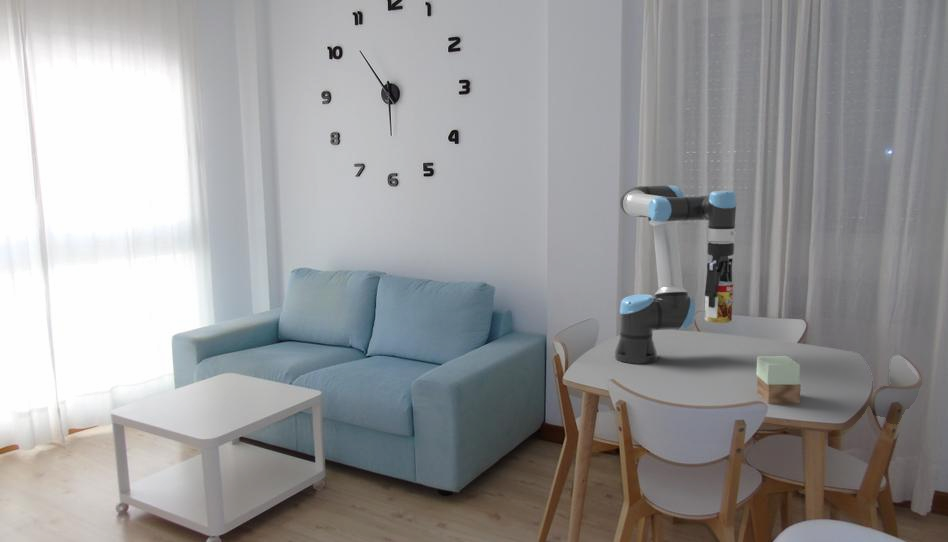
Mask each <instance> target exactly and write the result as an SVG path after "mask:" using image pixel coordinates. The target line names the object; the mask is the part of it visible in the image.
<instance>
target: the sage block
mask: <svg viewBox="0 0 948 542" xmlns="http://www.w3.org/2000/svg"><path fill="white" fill-rule="evenodd" d="M800 372H801V364H800V363H798V362H797V361H796V360H794V359H792V358H791V357H789V356H788V355H773V356H772V355H760V356H759V355H757V357H756V372H755V373H756V376H757V378H758V377H759V378H760V379H762V380H763V381H764V382H765V383H766V384H767V385H799V384H800Z"/></svg>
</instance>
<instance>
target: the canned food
mask: <svg viewBox="0 0 948 542" xmlns="http://www.w3.org/2000/svg"><path fill="white" fill-rule="evenodd" d="M733 294H734V283H733V281H732V282H730V281H728V282H725V281H720V282H719V285H718V291H717V296H716V297H718V310H717V318H711V317H708V296H705V295H704V296H705V301H704V302H705V303H704V321H706V322H708V323H712V324H729V323H731V322H732V315H733V297H734V295H733Z"/></svg>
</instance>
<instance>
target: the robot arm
mask: <svg viewBox="0 0 948 542" xmlns="http://www.w3.org/2000/svg"><path fill="white" fill-rule="evenodd" d="M736 194H737V193H736V192H734V191H732V190H714V191H711V192H710V193H709V195H698V196H685V195H684V192H683V191H682V189H681V188H680V187H679V186H676V185H667V184H665V185H649V186H648V185H647V186H643V185H642V186H635V187H631V188H629V189H628V190H626V191H625V192H624V193H622V195H621V197H620V199H619V205H620V209H621V211H622V212H623V213H624V214H626V215H628V216H630V217H635V218H647V220H648V224H649V225H651V226H652V228H653V238H654V250H655V261H656V264H655V265H656V273H657V274H656V275H657V286H658V289H657V291H656V292H655V293H654V297H653V295H651V294H645V293H644V294H642V293H641V294H640V293H639V294H633V295H627V296H626V297H623V298H622V299H621V301H620V306H619V307H620V308H619V313H620V314H619V318H620V319H619V320H620V321H619V339H618V342H617V344H616V348H615V351H614V358H615V359H616V360H617V359H618V360H617V361H619V360H620V361H619V362H622V361H623V362H622V363H626V362H627V363H626V364H636V365H637V364H639V365H640V364H641V365H642V364H643V365H644V364H650V363H654V362H656V361H657V359H658V353H657V349H656V346H655V342H654V339H653V332H654V331H665V330H666V331H667V330H681V329H688V328H690V327H691V326H692V324H693V322H694V320H695V317H696V305H695V304H696V303H695V302H694V299H693V297H691V296H689V293H688V291H687V290H686V289H685V288H684V287H683V279H682V278H683V277H682V276H683V275H682V267H681V265H682V264H681V255H680V243H679V233H678V223H679V222H680V221H681V222H682V221H685V222H687V221H708V231H707V241H709V242H708V243H707V254H708V255H709V256H712V258H711V262H707V263H706V264H707V265H706V267H707V268H706V271H707V272H706V278H705V279H706V281H705V289H704V290H705V291H704V296H708V317H711V318H717V310H718V297H716V296H717V291H718V285H719V282H720V281H725V282H728V281H730V282H733V258H731V257H730V256H733V255H734V252H735V244H734V241H735V235H737V232H736V231H735V227H736V226H735V225H736V214H737V213H736V211H737V199H736V198H737V195H736Z"/></svg>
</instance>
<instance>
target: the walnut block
mask: <svg viewBox="0 0 948 542" xmlns="http://www.w3.org/2000/svg"><path fill="white" fill-rule="evenodd" d="M756 385H757V387H756V388H757V389H756V394H757V393H758V394H760V395H761V396H762V397H761V398H762V399H763V398H764V399H763V400H764V401H765V402H766V403H767V404H768V405H770V403H773V404H772V405H782V404H784V405H785V404H786V405H789V404H790V403H793V405H794V404H796V405H797V404H798V405H799V404H800V403H801V401H800V400H801V398H800V397H801V384H800V383H799V385H767V384H766V383H765V382H764V381H763V380H762V379H760V378H759V377H758V376H757V384H756ZM758 394H757V395H758ZM790 405H791V404H790Z"/></svg>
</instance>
